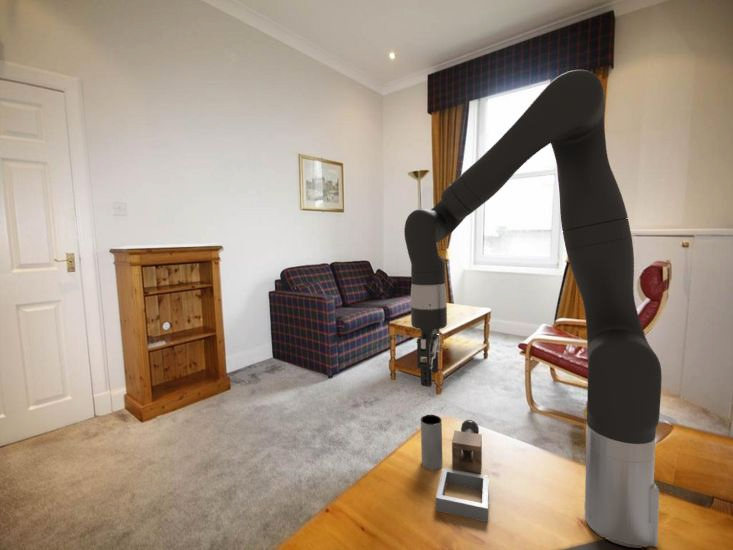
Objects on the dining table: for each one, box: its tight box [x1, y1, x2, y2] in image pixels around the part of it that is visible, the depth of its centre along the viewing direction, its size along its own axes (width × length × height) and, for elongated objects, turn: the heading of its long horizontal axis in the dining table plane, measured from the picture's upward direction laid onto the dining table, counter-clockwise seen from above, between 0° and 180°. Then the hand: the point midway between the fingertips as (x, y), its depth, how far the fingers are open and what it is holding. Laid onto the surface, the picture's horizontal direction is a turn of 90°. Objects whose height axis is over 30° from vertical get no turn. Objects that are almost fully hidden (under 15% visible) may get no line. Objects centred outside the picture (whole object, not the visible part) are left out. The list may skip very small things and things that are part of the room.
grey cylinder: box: [420, 414, 443, 471], centre depth 78 cm, size 4×4×10 cm
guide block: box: [451, 430, 483, 475], centre depth 76 cm, size 6×5×7 cm
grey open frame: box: [435, 467, 490, 523], centre depth 67 cm, size 9×9×2 cm
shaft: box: [460, 419, 480, 454], centre depth 81 cm, size 4×10×4 cm, turn 160°
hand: (430, 378), depth 76 cm, fingers open, 8 cm apart
